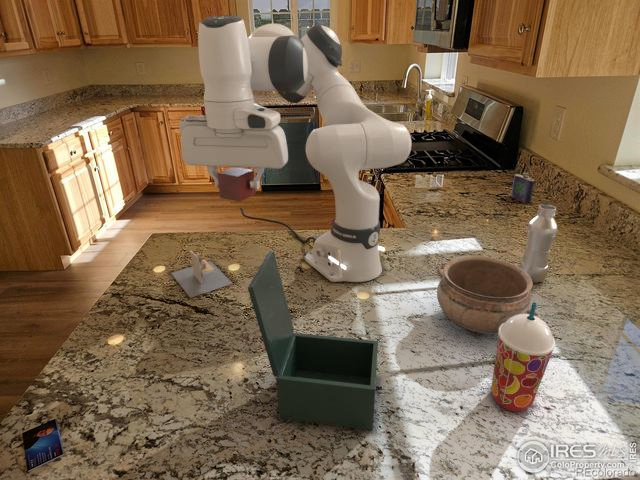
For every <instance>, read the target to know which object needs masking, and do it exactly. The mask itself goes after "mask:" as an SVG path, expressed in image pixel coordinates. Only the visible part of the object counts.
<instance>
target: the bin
mask: <svg viewBox="0 0 640 480" xmlns="http://www.w3.org/2000/svg"><path fill="white" fill-rule="evenodd" d="M378 352H379V341H378V340H370V339H360V338H350V337H340V336H339V337H338V336H328V335H318V334H309V333H297V332H293V335H292V338H291V341H290V343H289V346H288V349H287V352H286V355H285V358H284V361H283V363H282V366H281V369H280V372H279V375H278V376H275V381H276V383H275V384H276V395H277V396H276V397H277V409H278V411H277V412H278V419H281V420H289V421H297V422H305V423H313V424H319V425H328V426H336V427H343V428H350V429H351V428H352V429H359V430H368V431H373V430H374V418H375V417H374V416H375V400H376V383H377V369H378Z"/></svg>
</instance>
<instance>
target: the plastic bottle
mask: <svg viewBox="0 0 640 480" xmlns="http://www.w3.org/2000/svg"><path fill="white" fill-rule="evenodd" d="M556 212H557V207H556V206H554V205H551V204H540V205H538V210H537V212H536V214H537V215H536V216H535V217H533V218H532V219H531V220H530V221H529V222H528V224H527V229H526V231H527V234H526V246H525V250H524V253H523V257H522V260H521V261H520V264H519V266H518V267H520V268H521V269H523V270H524V271H525V272H527V273H528V275H529V276H530V277H531V279H532V283H541V282H543V281H544V280H546V278H547V276H548V270H549V266H548V265H549V258H550V257H549V256H550V252H551V249H552V246H553V243H554V241H555V238H556V235H557V233H558V224H557V222H556V219H555V218H554V217H556Z"/></svg>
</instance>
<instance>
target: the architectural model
mask: <svg viewBox="0 0 640 480" xmlns="http://www.w3.org/2000/svg"><path fill="white" fill-rule="evenodd" d="M189 252H190V258H191V259H190V260H191V264H192V266H189V267H186V268H181V269H179V270H176V271H173V272H170V274H171V275H172V276H173V277H174V279H175V280H176V282H177V283H178V284H179V285H180V286H181V288H182V289H183V291H185V293H186V294H187V295H188V297H189V298H194V297H197V296H200V295H203V294H205V293H208V292H211V291H215V290H218V289H221V288H223V287H226V286H231V285H233V284H234V283H233V282H232V281H231V280H230V279H229V278H228V277H227V276H226V275H225V274H224V273H223V272H222V271H221V270H220V269H219V268H218V267H217V266H216V265H215V264H214V263H213V262H212V261H211V260H210V261H207V260H206V259H202V257H201V256H202V252H200V253H197V254H195V253H194V252H193V250H191V249H190V250H189Z"/></svg>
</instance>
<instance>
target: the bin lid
mask: <svg viewBox="0 0 640 480" xmlns="http://www.w3.org/2000/svg"><path fill="white" fill-rule="evenodd" d="M247 291H248V294H249V297H250V302H251V304H252V308H253V311H254V314H255V318H256V321H257V323H258V324H257V325H258V329H259V332H260V335H261V338H262V342H263V345H264V348H265V352H266V355H267V359H268V362H269V365H270V369H271V372H272V376H273V377H277V376H278V375H279V372H280V369H281V366H282V363H283V361H284V358H285V355H286V352H287V349H288V346H289V343H290V341H291V338H292V335H293V333H295V332H294V331H295V329H294V325H293V321H292V317H291V313H290V309H289V305H288V301H287V297H286V293H285V290H284V286H283V281H282V278H281V274H280V270H279V265H278V261H277V259H276V255H275V251H274V250H269V251H268V253H267V254H266V256H265V258H264V259H263V261H262V263H261V265H260V266H259V267H258V269H257V271H256V272H255V275H254V277H253V278H252V280H251V281H250V283H249V285H248V286H247Z"/></svg>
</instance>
